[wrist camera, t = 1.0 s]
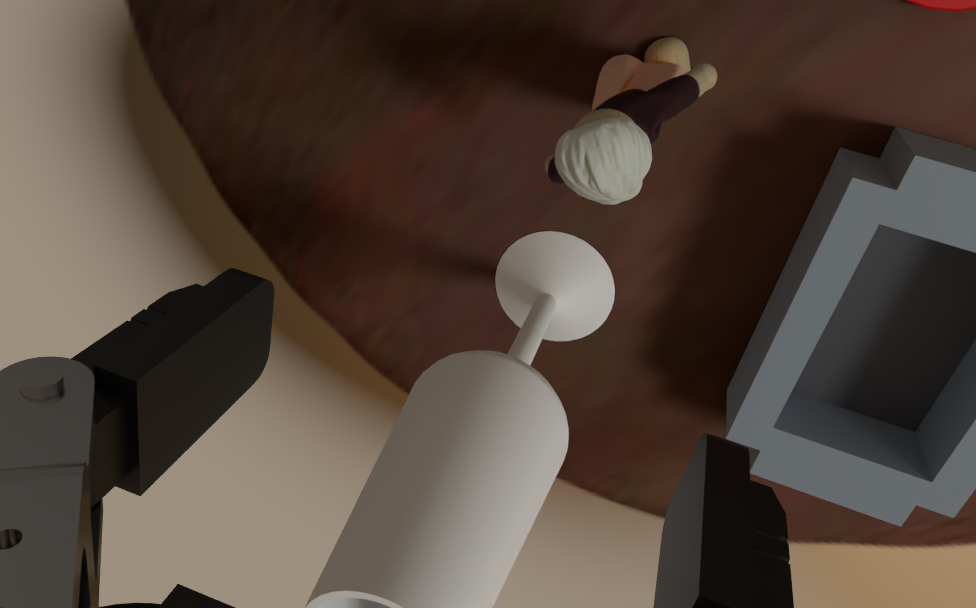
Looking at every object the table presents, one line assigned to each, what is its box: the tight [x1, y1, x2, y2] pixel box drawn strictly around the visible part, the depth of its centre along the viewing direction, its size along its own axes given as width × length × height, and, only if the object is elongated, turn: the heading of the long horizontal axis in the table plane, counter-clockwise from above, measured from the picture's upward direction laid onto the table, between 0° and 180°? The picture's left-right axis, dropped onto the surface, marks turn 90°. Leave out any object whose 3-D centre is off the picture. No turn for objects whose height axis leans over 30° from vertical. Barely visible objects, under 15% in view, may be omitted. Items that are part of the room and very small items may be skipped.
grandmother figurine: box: [545, 37, 717, 205], centre depth 30 cm, size 8×4×13 cm, turn 138°
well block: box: [726, 127, 976, 527], centre depth 35 cm, size 11×17×4 cm, turn 169°
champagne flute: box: [305, 231, 615, 608], centre depth 32 cm, size 7×7×24 cm
